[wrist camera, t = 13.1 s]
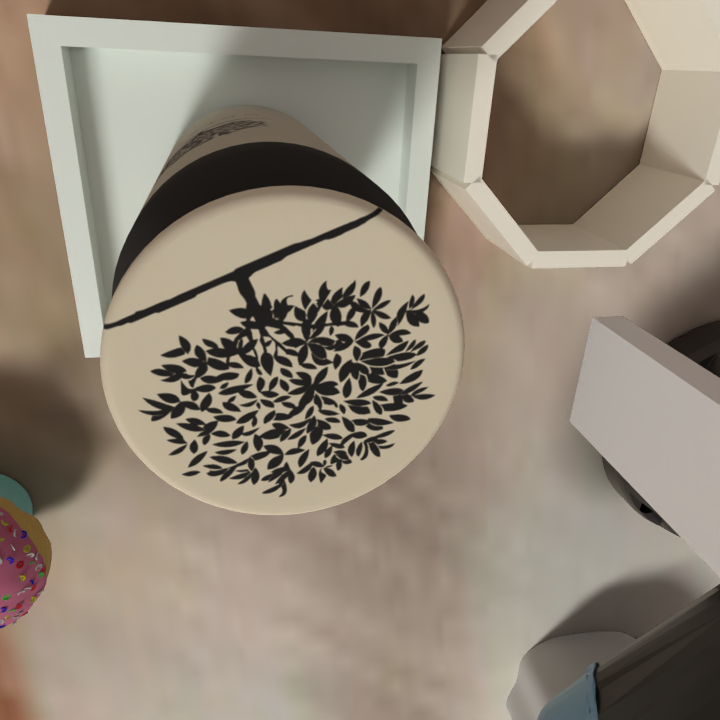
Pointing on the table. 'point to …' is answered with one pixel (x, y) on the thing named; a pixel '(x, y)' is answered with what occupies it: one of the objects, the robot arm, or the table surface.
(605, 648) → the lumpy-topped squat cylinder
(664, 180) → the holder
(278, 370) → the travel mug
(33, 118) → the table surface
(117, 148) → the tray
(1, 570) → the cupcake
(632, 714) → the robot arm
